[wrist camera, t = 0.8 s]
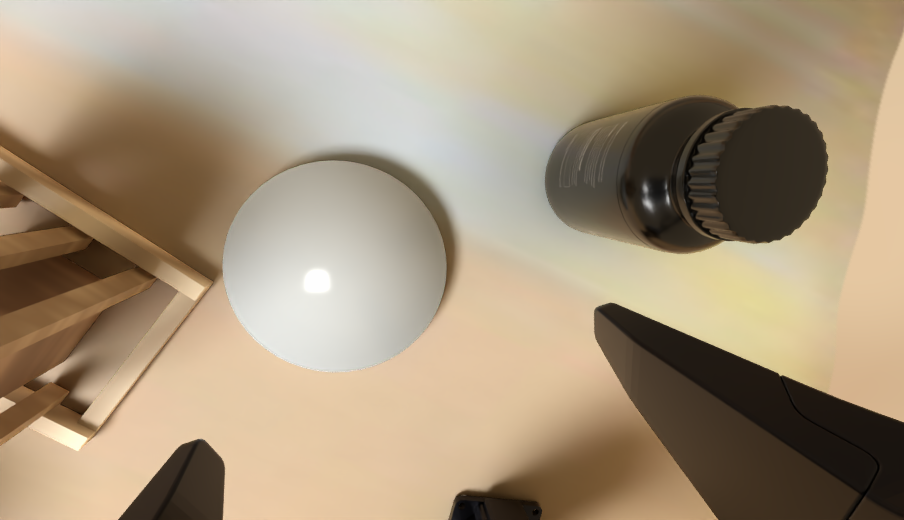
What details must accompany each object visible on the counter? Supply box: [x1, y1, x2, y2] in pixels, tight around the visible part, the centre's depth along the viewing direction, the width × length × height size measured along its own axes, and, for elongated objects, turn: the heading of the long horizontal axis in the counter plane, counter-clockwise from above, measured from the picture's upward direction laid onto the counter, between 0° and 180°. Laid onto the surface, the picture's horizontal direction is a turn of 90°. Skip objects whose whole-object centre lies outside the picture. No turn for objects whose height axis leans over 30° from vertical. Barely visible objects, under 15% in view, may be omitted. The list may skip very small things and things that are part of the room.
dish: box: [222, 160, 447, 372], centre depth 23 cm, size 12×12×1 cm
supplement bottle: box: [545, 95, 828, 254], centre depth 20 cm, size 7×7×12 cm
